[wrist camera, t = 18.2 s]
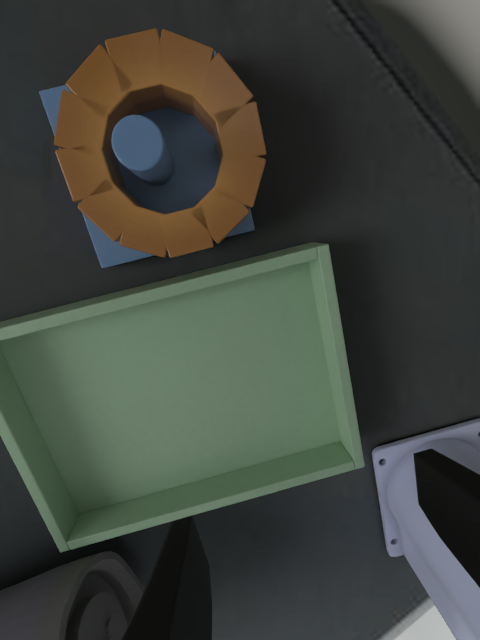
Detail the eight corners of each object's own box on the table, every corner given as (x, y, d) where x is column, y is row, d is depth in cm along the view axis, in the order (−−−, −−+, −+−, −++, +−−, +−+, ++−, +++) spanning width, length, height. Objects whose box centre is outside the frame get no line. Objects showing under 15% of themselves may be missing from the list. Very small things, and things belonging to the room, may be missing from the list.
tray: (312, 241, 19) (328, 243, 16) (347, 440, 22) (365, 467, 20) (-15, 325, 18) (-49, 340, 16) (76, 516, 22) (59, 553, 19)
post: (252, 229, 18) (272, 230, 13) (106, 266, 18) (67, 282, 13) (214, 60, 16) (220, -22, 11) (48, 99, 16) (-30, 34, 11)
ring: (271, 229, 17) (282, 229, 15) (114, 269, 17) (99, 276, 15) (232, 44, 15) (237, 8, 13) (51, 87, 15) (20, 58, 12)
